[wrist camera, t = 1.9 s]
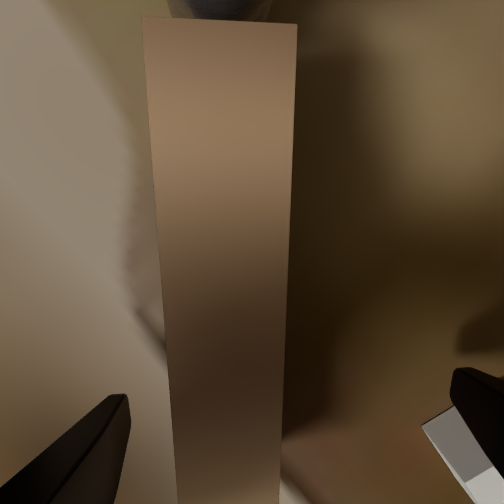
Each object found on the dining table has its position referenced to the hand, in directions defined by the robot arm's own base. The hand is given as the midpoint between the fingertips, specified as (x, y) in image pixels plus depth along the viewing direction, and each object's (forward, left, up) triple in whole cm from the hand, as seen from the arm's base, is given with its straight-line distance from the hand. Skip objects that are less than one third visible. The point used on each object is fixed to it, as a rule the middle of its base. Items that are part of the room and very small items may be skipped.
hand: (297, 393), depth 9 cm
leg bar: (+3, 0, -1) cm, 3 cm away
